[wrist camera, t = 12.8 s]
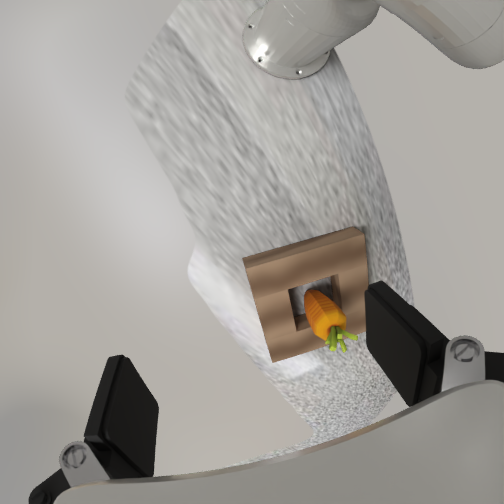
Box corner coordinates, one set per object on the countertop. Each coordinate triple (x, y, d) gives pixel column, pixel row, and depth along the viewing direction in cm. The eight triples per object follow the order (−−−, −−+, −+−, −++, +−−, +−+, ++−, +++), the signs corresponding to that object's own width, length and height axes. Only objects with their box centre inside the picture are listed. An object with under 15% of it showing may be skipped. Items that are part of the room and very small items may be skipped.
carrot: (326, 280, 49) (367, 331, 35) (315, 306, 50) (351, 361, 37) (299, 275, 48) (335, 327, 34) (289, 302, 49) (319, 359, 35)
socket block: (242, 258, 45) (245, 268, 42) (352, 226, 46) (364, 234, 43) (268, 348, 52) (272, 362, 48) (360, 317, 53) (370, 329, 49)
